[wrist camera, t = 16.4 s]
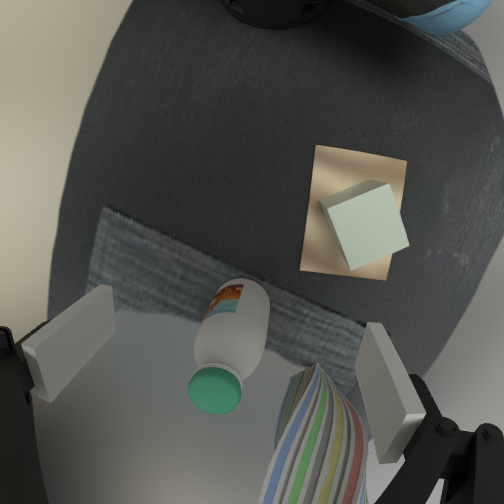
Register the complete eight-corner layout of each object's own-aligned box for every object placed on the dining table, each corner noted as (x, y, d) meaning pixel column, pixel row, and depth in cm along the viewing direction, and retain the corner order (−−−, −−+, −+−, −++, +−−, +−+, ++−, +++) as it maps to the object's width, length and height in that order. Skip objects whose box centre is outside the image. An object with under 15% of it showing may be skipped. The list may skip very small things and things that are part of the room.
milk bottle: (268, 275, 43) (254, 362, 23) (272, 326, 45) (261, 428, 25) (212, 277, 44) (160, 359, 24) (218, 327, 46) (179, 424, 26)
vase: (326, 328, 44) (359, 520, 15) (368, 384, 46) (410, 547, 17) (251, 371, 47) (217, 549, 18) (299, 420, 49) (297, 577, 20)
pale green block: (339, 250, 40) (350, 270, 32) (318, 200, 38) (326, 208, 31) (387, 230, 38) (409, 245, 31) (369, 179, 37) (389, 183, 29)
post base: (315, 145, 37) (320, 141, 31) (404, 161, 37) (423, 161, 31) (299, 268, 42) (301, 285, 36) (384, 278, 41) (398, 296, 35)
